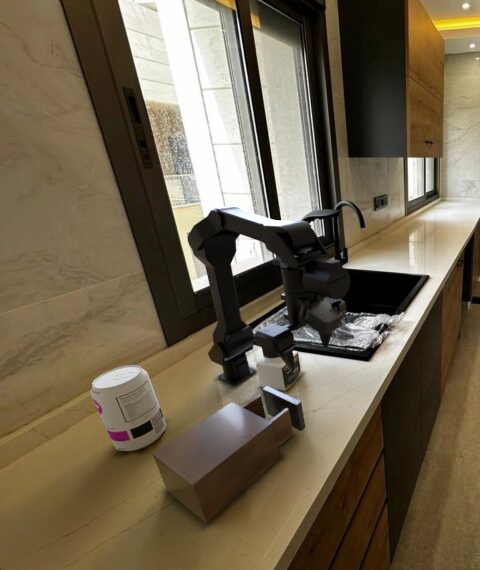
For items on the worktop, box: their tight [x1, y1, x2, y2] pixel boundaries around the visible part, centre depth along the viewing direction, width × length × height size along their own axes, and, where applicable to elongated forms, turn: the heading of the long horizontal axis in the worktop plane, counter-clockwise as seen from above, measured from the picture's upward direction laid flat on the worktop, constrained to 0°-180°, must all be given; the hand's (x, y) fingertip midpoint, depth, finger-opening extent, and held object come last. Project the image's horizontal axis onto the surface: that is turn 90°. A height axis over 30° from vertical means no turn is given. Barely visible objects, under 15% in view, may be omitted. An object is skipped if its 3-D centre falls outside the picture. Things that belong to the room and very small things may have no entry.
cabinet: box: [151, 401, 280, 524], centre depth 57 cm, size 14×12×9 cm
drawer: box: [240, 386, 306, 448], centre depth 64 cm, size 14×10×7 cm
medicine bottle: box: [255, 347, 302, 392], centre depth 81 cm, size 7×7×12 cm
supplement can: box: [90, 364, 167, 452], centre depth 64 cm, size 8×8×15 cm
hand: (309, 357), depth 68 cm, fingers open, 9 cm apart
